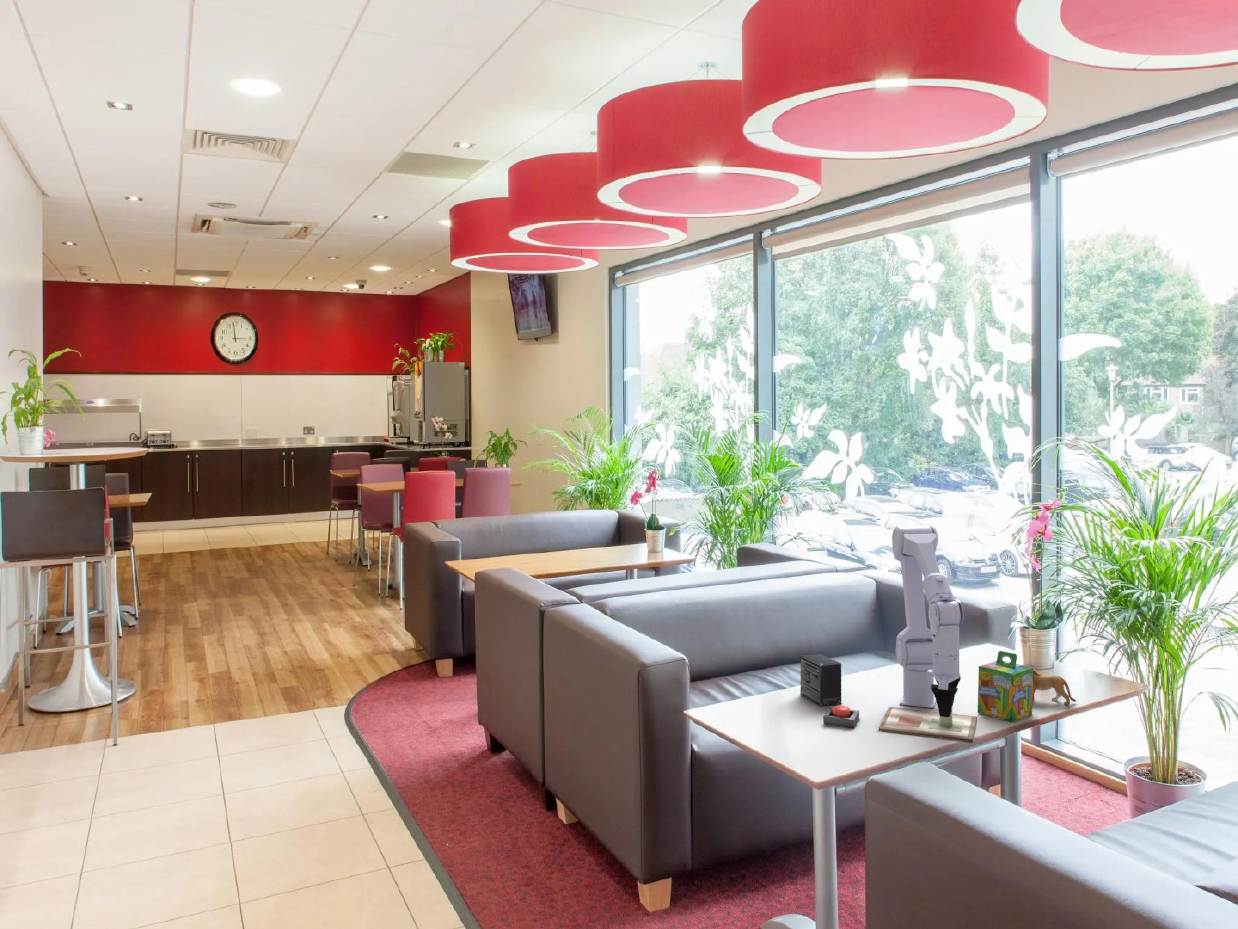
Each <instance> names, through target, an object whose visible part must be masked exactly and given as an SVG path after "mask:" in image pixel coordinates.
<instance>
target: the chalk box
mask: <svg viewBox="0 0 1238 929" xmlns="http://www.w3.org/2000/svg"><path fill="white" fill-rule="evenodd" d="M1005 657H1007V658H1009V659H1010V661H1004V660H1003V659H1004V658H1005ZM1017 661H1018V655H1017V654H1016V653H1013V652H1007V651H1004V650H1003V651H1002V650H999V651H998V654H997V657H996V660H995V661H992V662H988V663H985V664H982V665H979V666H978V682H977V684H978V685H977V686H978V688H977V713H978V714H983V715H985V716H989V717H993V718H996V719H999V720H1002V721H1006V722H1008V723H1009V722H1010V723H1014V722H1016V721H1017V722H1018V721H1019V720H1021V719H1022V720H1023V719H1024V718H1026V717H1029V716H1032V714H1033V702H1032V693H1033V670H1034V668H1032V667H1031V666H1027V665H1024V666H1023V664H1018V663H1017Z"/></svg>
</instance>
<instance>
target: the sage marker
mask: <svg viewBox="0 0 1238 929" xmlns="http://www.w3.org/2000/svg"><path fill="white" fill-rule="evenodd" d="M952 714H953V708H952V709H951V714H950V717H940V715H939V724H940V725H941V726H944V727H951V726H952Z"/></svg>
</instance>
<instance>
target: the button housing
mask: <svg viewBox="0 0 1238 929" xmlns="http://www.w3.org/2000/svg"><path fill="white" fill-rule="evenodd" d="M822 720H823V722H822V724H823V726H829V727H830V726H832V727H838V728H839V727H840V728H848V729H855V727H856V726H857V724H858V722H859V721H860V710H857V709H850V717H849V718H845V717H836V716H833V707H828V709H827V710H826V712H825V713H824V715H823V718H822Z"/></svg>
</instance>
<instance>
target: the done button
mask: <svg viewBox="0 0 1238 929" xmlns="http://www.w3.org/2000/svg"><path fill="white" fill-rule="evenodd" d="M832 708H833V716H836V717H845V718H849V717H850V710H851V708H850V707H849V706H847V705H846V706H845V705H835V706H834V705H833V707H832Z"/></svg>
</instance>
